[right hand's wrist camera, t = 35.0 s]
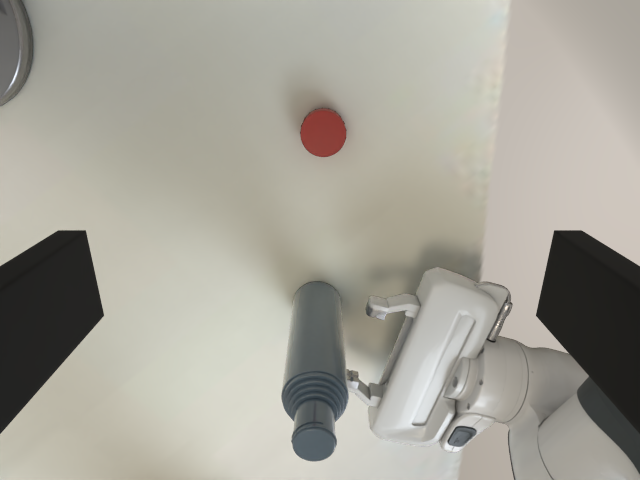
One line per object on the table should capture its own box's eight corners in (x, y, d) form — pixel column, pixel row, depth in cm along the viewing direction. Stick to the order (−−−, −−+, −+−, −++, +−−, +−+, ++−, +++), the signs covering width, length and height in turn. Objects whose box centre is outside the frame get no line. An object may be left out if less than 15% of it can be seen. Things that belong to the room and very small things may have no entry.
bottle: (346, 288, 50) (362, 426, 31) (332, 327, 52) (339, 480, 32) (300, 276, 49) (286, 408, 30) (287, 316, 51) (267, 464, 32)
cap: (325, 98, 42) (325, 99, 40) (354, 132, 43) (356, 136, 41) (292, 128, 43) (290, 132, 41) (321, 161, 44) (321, 166, 42)
